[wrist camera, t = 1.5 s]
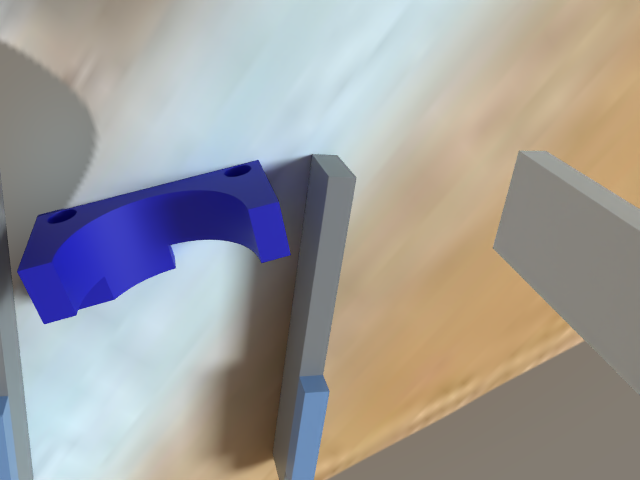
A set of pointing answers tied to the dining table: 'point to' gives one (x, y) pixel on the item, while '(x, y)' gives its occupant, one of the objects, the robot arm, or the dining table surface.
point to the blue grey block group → (302, 346)
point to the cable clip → (145, 236)
